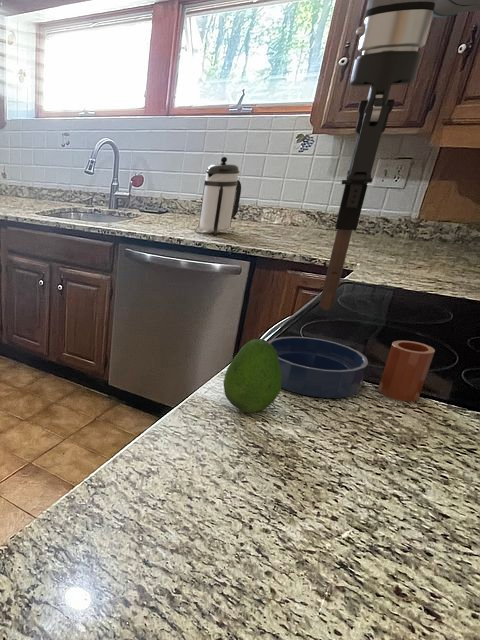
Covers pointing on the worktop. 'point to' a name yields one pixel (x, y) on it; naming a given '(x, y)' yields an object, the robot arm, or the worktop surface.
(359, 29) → the robot arm
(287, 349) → the bowl
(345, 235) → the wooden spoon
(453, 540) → the worktop surface
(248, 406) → the avocado
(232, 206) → the coffee press
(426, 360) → the crock
